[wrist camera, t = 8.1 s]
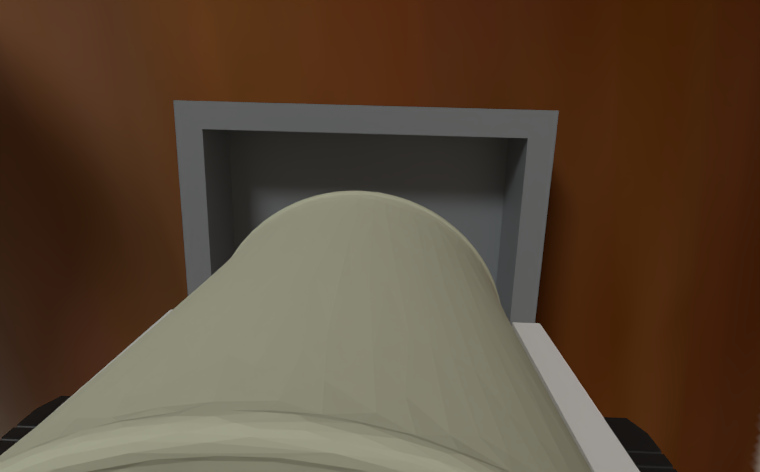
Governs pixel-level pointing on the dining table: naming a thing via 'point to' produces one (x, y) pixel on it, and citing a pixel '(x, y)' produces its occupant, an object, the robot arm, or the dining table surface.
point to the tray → (370, 176)
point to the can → (321, 362)
